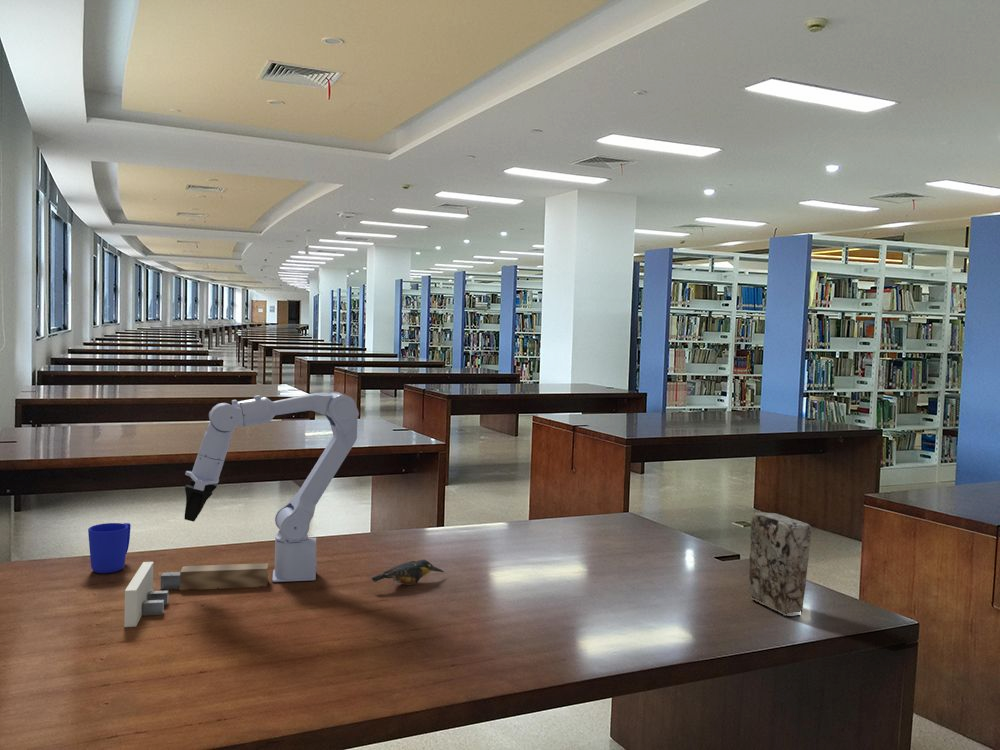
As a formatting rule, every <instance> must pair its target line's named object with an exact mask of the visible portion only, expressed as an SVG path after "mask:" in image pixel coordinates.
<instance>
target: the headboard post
mask: <svg viewBox="0 0 1000 750" xmlns="http://www.w3.org/2000/svg"><path fill="white" fill-rule="evenodd" d="M154 567H155V566H154V561H143V562H142V563H141V565H140V567H138V570H137V571H136V572H135V574H134V575H133V577H132V579H131V581H130V582H129V583H128V585H127V586H126V588H125V590H124V628H134V627H137V625H138V624H139V621H140V620H141V618H142V617H145V616H146V617H147V616H149V615H150V616H162V615H164V612H165V606H168V604H169V590H154Z"/></svg>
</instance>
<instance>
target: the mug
mask: <svg viewBox="0 0 1000 750" xmlns="http://www.w3.org/2000/svg"><path fill="white" fill-rule="evenodd" d="M131 527H132V526H131V523H130V522H129V523H127V522H124V523H122V522H121V523H120V522H108V523H107V522H106V523H100V524H96V525H92V526H89V527H88V529H87V532H88V546H89V559H90V568H91V570H92V571H93V572H94V573H97V574H112V573H116V572H118V571H122V569H123V568H124V567H125V563H126V555H127V553H128V551H129V546H130V539H131Z"/></svg>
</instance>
